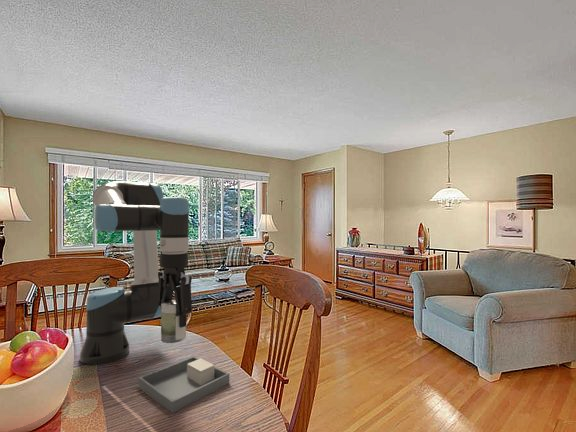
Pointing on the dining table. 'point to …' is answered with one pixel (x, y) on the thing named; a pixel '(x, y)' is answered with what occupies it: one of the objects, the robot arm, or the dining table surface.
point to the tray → (179, 385)
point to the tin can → (169, 322)
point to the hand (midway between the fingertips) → (173, 334)
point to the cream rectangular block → (200, 371)
